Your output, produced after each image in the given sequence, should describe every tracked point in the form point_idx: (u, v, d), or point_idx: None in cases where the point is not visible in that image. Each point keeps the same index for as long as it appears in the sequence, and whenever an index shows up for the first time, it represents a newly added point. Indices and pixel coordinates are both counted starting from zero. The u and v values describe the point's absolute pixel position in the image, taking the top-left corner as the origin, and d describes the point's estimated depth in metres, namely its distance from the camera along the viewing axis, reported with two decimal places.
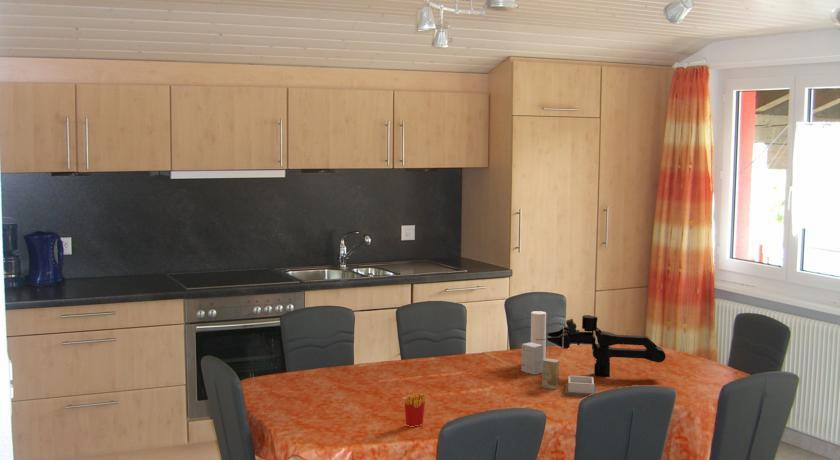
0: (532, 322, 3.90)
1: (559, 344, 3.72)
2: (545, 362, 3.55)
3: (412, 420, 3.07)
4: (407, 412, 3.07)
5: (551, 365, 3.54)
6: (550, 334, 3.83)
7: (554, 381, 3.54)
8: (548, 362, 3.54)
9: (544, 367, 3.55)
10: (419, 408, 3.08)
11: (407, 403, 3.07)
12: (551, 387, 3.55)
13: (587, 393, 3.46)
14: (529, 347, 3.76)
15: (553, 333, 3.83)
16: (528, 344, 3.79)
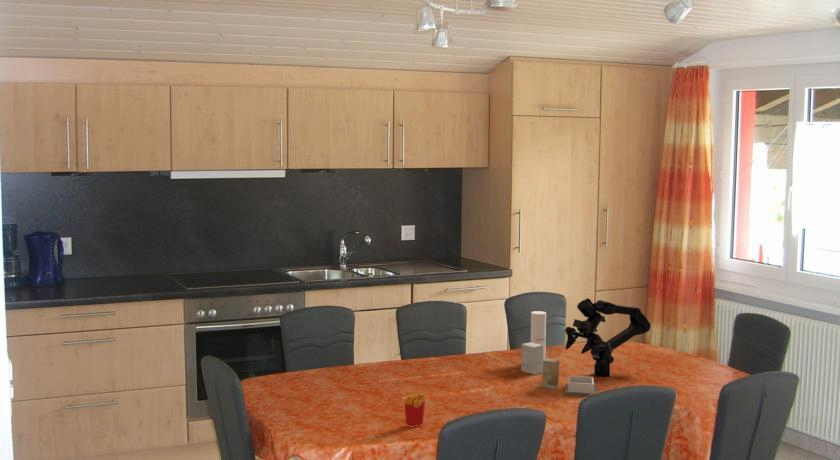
0: (532, 322, 3.90)
1: (593, 346, 3.62)
2: (545, 362, 3.55)
3: (412, 420, 3.07)
4: (407, 412, 3.07)
5: (551, 365, 3.54)
6: (568, 346, 3.69)
7: (554, 381, 3.54)
8: (548, 362, 3.54)
9: (544, 367, 3.55)
10: (419, 408, 3.08)
11: (407, 403, 3.07)
12: (551, 387, 3.55)
13: (587, 393, 3.46)
14: (529, 347, 3.76)
15: (568, 343, 3.69)
16: (528, 344, 3.79)
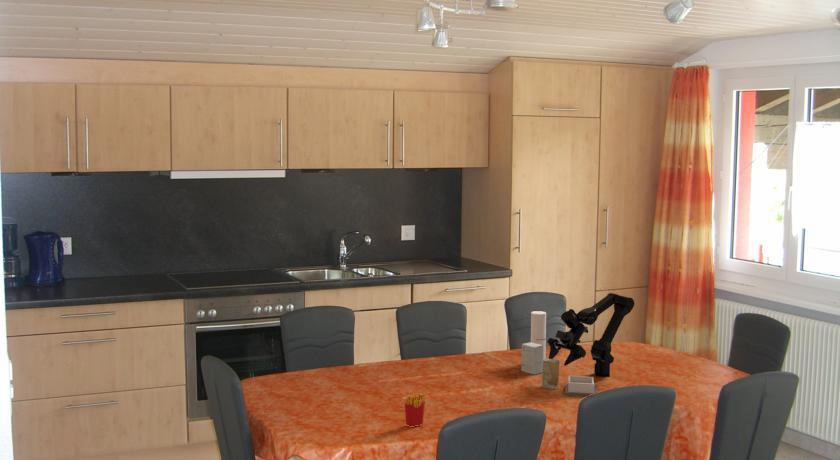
0: (532, 322, 3.90)
1: (576, 358, 3.56)
2: (545, 362, 3.55)
3: (412, 420, 3.07)
4: (407, 412, 3.07)
5: (551, 365, 3.54)
6: (550, 358, 3.62)
7: (554, 381, 3.54)
8: (548, 362, 3.54)
9: (544, 367, 3.55)
10: (419, 408, 3.08)
11: (407, 403, 3.07)
12: (551, 387, 3.55)
13: (587, 393, 3.46)
14: (529, 347, 3.76)
15: (551, 355, 3.63)
16: (528, 344, 3.79)
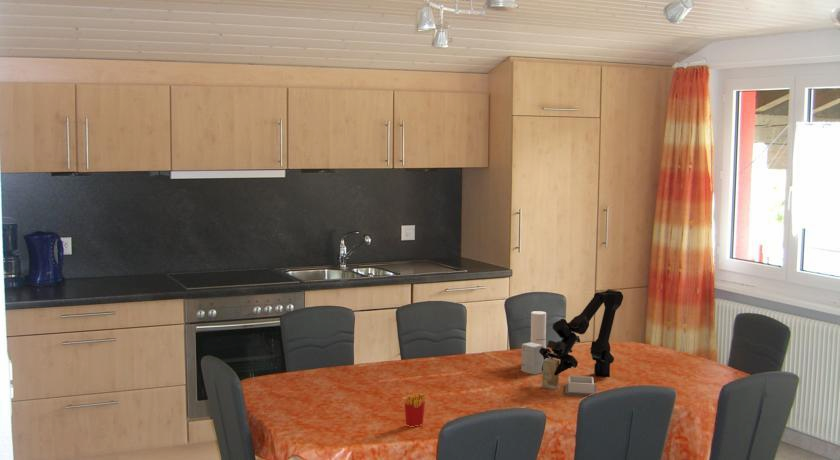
0: (532, 322, 3.90)
1: (566, 367, 3.54)
2: (545, 362, 3.55)
3: (412, 420, 3.07)
4: (407, 412, 3.07)
5: (551, 365, 3.54)
6: None
7: (554, 381, 3.54)
8: (548, 362, 3.54)
9: (544, 367, 3.55)
10: (419, 408, 3.08)
11: (407, 403, 3.07)
12: (551, 387, 3.55)
13: (587, 393, 3.46)
14: (529, 347, 3.76)
15: None
16: (528, 344, 3.79)
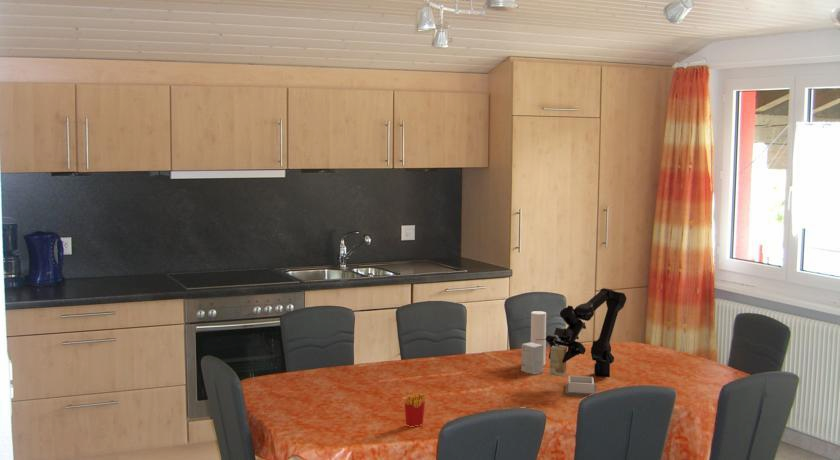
0: (532, 322, 3.90)
1: (574, 354, 3.52)
2: (552, 350, 3.52)
3: (412, 420, 3.07)
4: (407, 412, 3.07)
5: (559, 353, 3.51)
6: None
7: (562, 368, 3.52)
8: (556, 350, 3.52)
9: (552, 355, 3.53)
10: (419, 408, 3.08)
11: (407, 403, 3.07)
12: (559, 375, 3.52)
13: (587, 393, 3.46)
14: (529, 347, 3.76)
15: None
16: (528, 344, 3.79)
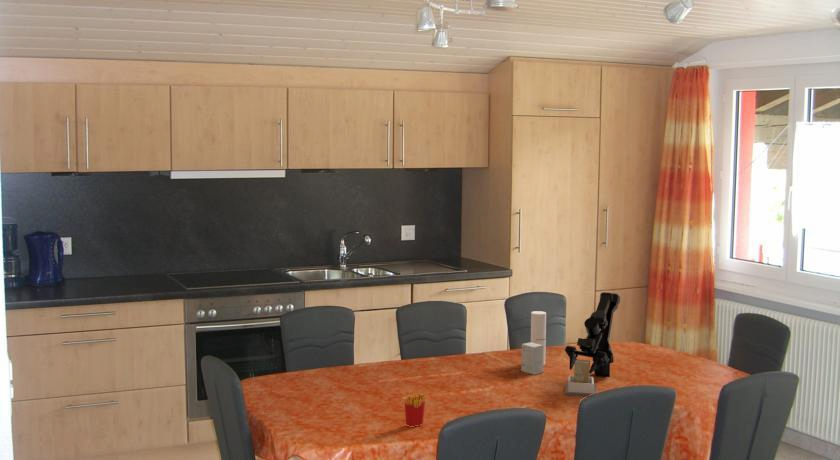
0: (532, 322, 3.90)
1: (599, 365, 3.50)
2: (577, 363, 3.49)
3: (412, 420, 3.07)
4: (407, 412, 3.07)
5: (584, 366, 3.48)
6: (571, 366, 3.53)
7: (586, 382, 3.49)
8: (580, 363, 3.49)
9: (576, 368, 3.50)
10: (419, 408, 3.08)
11: (407, 403, 3.07)
12: None
13: (587, 393, 3.46)
14: (529, 347, 3.76)
15: (572, 363, 3.54)
16: (528, 344, 3.79)
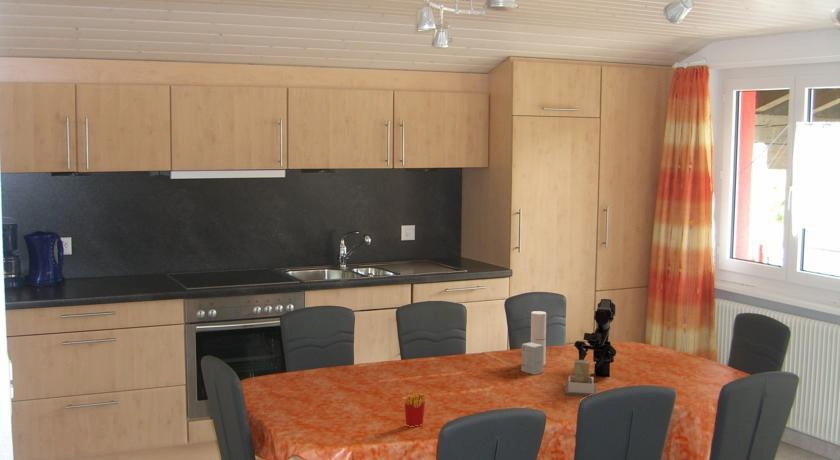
0: (532, 322, 3.90)
1: (607, 357, 3.56)
2: (577, 363, 3.49)
3: (412, 420, 3.07)
4: (407, 412, 3.07)
5: (584, 366, 3.48)
6: None
7: (586, 382, 3.49)
8: (580, 363, 3.49)
9: (576, 369, 3.50)
10: (419, 408, 3.08)
11: (407, 403, 3.07)
12: None
13: (587, 393, 3.46)
14: (529, 347, 3.76)
15: (581, 358, 3.62)
16: (528, 344, 3.79)
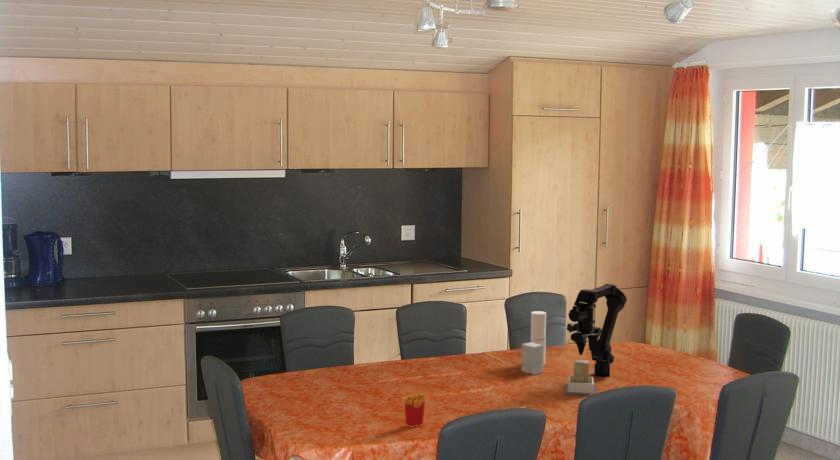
0: (532, 322, 3.90)
1: (583, 343, 3.58)
2: (577, 363, 3.49)
3: (412, 420, 3.07)
4: (407, 412, 3.07)
5: (584, 366, 3.48)
6: (590, 347, 3.68)
7: (586, 382, 3.49)
8: (580, 363, 3.49)
9: (576, 369, 3.50)
10: (419, 408, 3.08)
11: (407, 403, 3.07)
12: None
13: (587, 393, 3.46)
14: (529, 347, 3.76)
15: (589, 344, 3.68)
16: (528, 344, 3.79)
